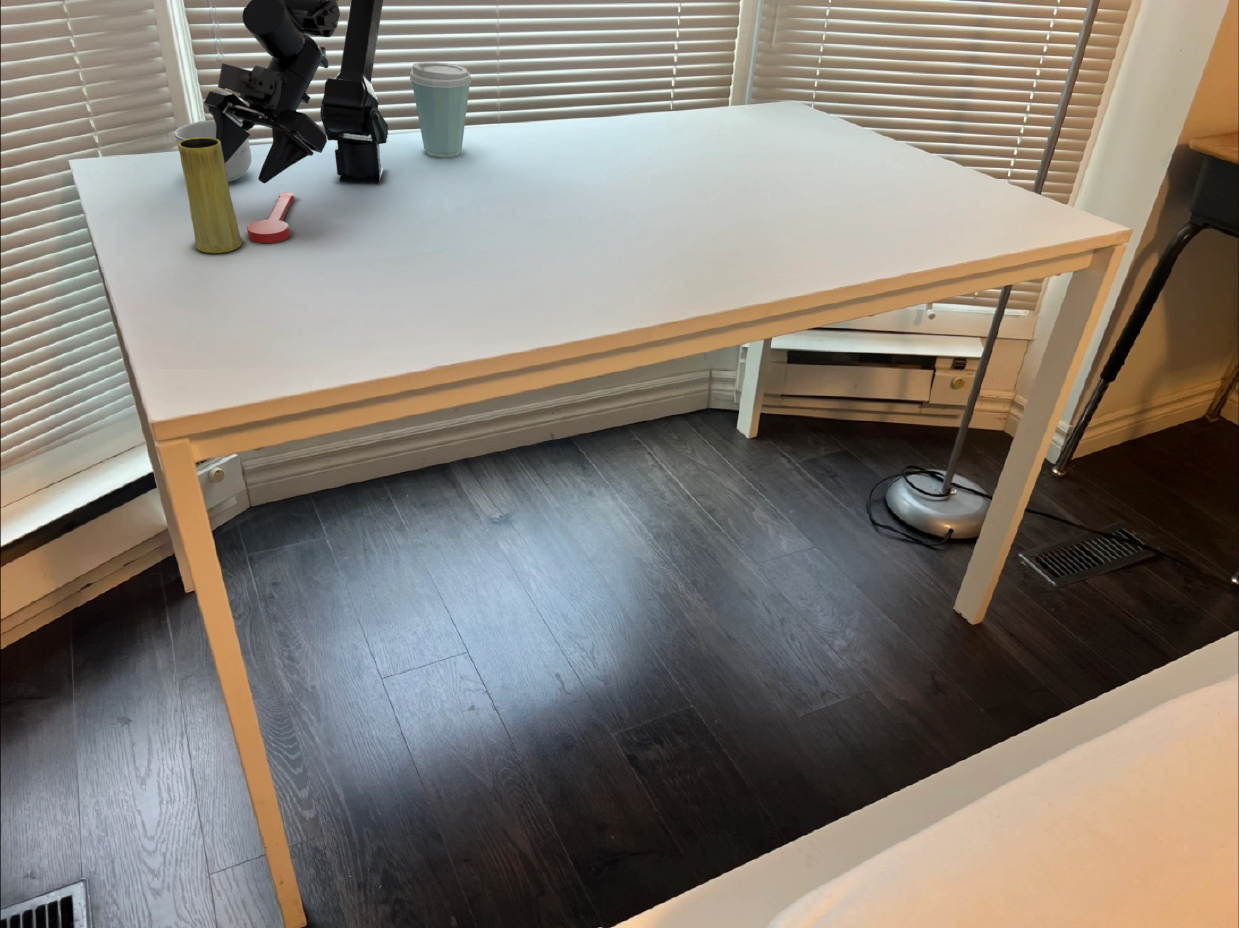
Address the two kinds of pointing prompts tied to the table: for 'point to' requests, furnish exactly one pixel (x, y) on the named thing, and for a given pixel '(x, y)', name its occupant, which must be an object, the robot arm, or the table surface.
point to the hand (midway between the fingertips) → (238, 174)
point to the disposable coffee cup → (441, 105)
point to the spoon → (272, 223)
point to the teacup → (208, 129)
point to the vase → (209, 195)
